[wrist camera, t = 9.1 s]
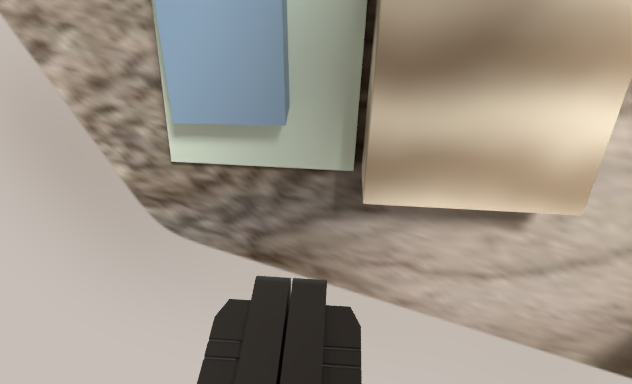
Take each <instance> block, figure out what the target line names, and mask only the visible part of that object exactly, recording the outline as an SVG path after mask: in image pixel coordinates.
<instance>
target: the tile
mask: <svg viewBox="0 0 632 384" xmlns="http://www.w3.org/2000/svg"><path fill="white" fill-rule="evenodd" d="M154 1H155V8H156V14H157V21H158V28H159V34H160V41H161V47H162V54H163V61H164V67H165V74H166V80H167V87H168V94H169V100H170V107H171V113H172V120H173V123H180V124H228V125H275V126H286V122H287V117H288V112H289V107H290V96H289V60H288V23H287V0H154Z"/></svg>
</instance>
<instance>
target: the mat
mask: <svg viewBox="0 0 632 384" xmlns="http://www.w3.org/2000/svg"><path fill="white" fill-rule="evenodd" d="M152 7H153V15H154V24H155V32H156V40H157V48H158V56H159V64H160V73H161V81H162V89H163V97H164V105H165V114H166V122H167V130H168V138H169V146H170V155H171V162H189V163H208V164H227V165H247V166H266V167H285V168H304V169H324V170H343V171H354V158H355V146H356V134H357V121H358V109H359V96H360V84H361V72H362V59H363V47H364V34H365V22H366V10H367V0H287V23H288V60H289V96H290V107H289V112H288V117H287V122H286V126H275V125H228V124H180V123H173V120H172V113H171V107H170V100H169V94H168V87H167V80H166V74H165V67H164V61H163V54H162V47H161V41H160V34H159V28H158V21H157V14H156V8H155V1H154V0H152Z"/></svg>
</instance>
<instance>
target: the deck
mask: <svg viewBox="0 0 632 384" xmlns="http://www.w3.org/2000/svg"><path fill="white" fill-rule="evenodd" d="M631 77H632V0H376V11H375V22H374V33H373V44H372V56H371V67H370V78H369V89H368V100H367V112H366V123H365V134H364V145H363V156H362V190H363V204H376V205H395V206H414V207H432V208H451V209H470V210H489V211H508V212H526V213H545V214H564V215H583V212H584V209H585V206H586V204H587V201H588V198H589V195H590V192H591V190H592V187H593V184H594V181H595V178H596V175H597V173H598V170H599V167H600V164H601V161H602V159H603V156H604V153H605V150H606V147H607V144H608V142H609V139H610V136H611V133H612V130H613V128H614V125H615V122H616V119H617V116H618V113H619V111H620V108H621V105H622V102H623V99H624V97H625V94H626V91H627V88H628V85H629V82H630V80H631Z"/></svg>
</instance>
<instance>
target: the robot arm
mask: <svg viewBox="0 0 632 384" xmlns="http://www.w3.org/2000/svg"><path fill="white" fill-rule="evenodd" d="M326 288H327V280H314V279H299V278H294V279H293V283H292V292H291V278H280V277H266V276H257V277H256V280H255V284H254V289H253V294H252V299H251V300H236V299H229V300H228V302H227V303H226V304H225V305H224V306H223V308H222V309H221V310H220V311H219V312H218V314H217V315H216V316H215V318H214V322H213V326H212V329H211V333H210V337H209V342H208V344H207V348H206V352H205V358H204V360H203V363H202V367H201V371H200V374H199V379H198V382H197V384H361V326H360V324H359V323H358V320H357V319H356V317H355V315H354V313H353V311H352V309H351V307H344V306H329V305H326Z"/></svg>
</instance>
